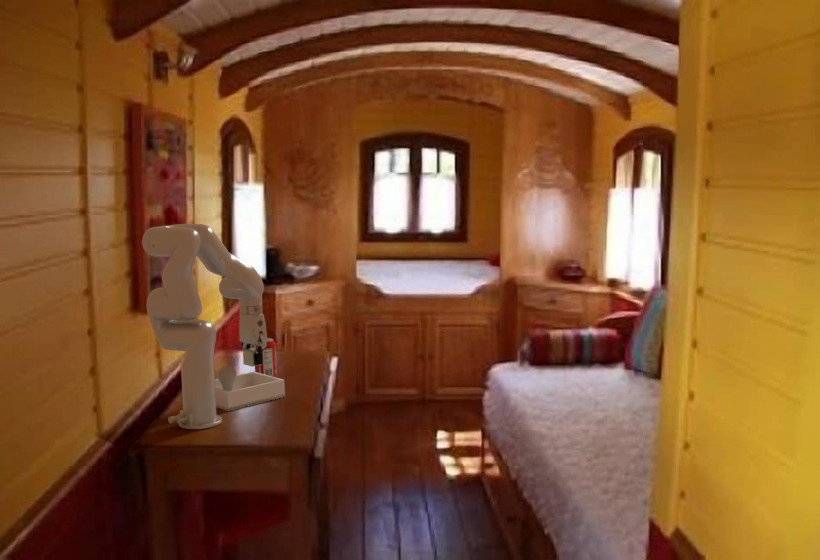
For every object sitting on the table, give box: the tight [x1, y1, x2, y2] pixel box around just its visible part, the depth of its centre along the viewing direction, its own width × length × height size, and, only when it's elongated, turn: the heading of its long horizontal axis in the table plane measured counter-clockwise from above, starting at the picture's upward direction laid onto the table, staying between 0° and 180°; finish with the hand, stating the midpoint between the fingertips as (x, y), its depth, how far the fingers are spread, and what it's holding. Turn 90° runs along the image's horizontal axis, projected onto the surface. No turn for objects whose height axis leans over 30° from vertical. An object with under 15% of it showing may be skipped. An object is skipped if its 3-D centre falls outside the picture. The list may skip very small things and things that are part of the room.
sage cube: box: [242, 347, 264, 367], centre depth 266 cm, size 5×5×5 cm
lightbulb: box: [216, 365, 237, 391], centre depth 260 cm, size 6×6×11 cm
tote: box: [215, 371, 286, 412], centre depth 263 cm, size 22×18×6 cm
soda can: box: [254, 337, 278, 378], centre depth 289 cm, size 8×8×15 cm
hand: (253, 362), depth 266 cm, fingers closed on sage cube, 5 cm apart
